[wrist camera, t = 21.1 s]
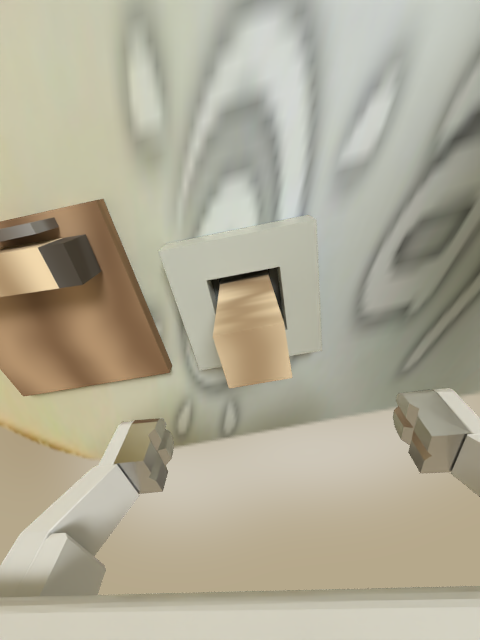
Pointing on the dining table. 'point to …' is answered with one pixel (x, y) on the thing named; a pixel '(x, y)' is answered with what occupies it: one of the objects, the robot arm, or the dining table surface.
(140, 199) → the dining table surface
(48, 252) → the leg bar
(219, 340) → the leg peg
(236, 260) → the socket
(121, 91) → the dining table surface
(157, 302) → the dining table surface
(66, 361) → the board
